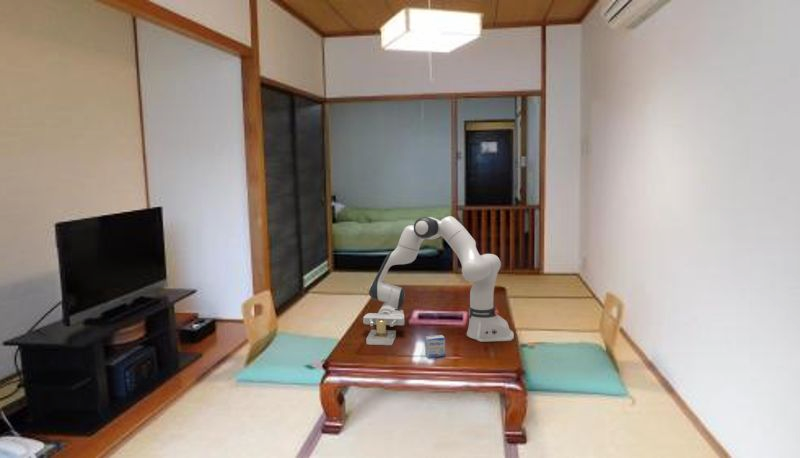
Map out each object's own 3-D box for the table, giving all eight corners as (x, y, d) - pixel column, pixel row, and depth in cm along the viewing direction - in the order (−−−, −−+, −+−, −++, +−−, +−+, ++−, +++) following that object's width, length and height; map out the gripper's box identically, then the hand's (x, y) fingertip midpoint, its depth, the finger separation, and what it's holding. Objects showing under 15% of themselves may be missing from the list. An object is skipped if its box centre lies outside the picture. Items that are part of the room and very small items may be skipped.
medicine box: (428, 358, 239) (427, 339, 237) (425, 354, 243) (424, 336, 242) (445, 356, 241) (445, 337, 239) (441, 352, 245) (441, 334, 244)
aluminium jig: (395, 336, 267) (395, 330, 266) (391, 345, 255) (391, 339, 254) (371, 335, 268) (371, 329, 268) (366, 344, 257) (366, 338, 256)
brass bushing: (386, 338, 263) (386, 318, 262) (385, 342, 259) (384, 321, 258) (377, 338, 264) (377, 318, 263) (376, 341, 260) (375, 321, 258)
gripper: (365, 308, 276) (359, 317, 262) (406, 310, 273) (402, 318, 259) (366, 321, 277) (360, 330, 263) (406, 322, 274) (402, 331, 260)
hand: (381, 324), depth 261 cm, fingers open, 8 cm apart
